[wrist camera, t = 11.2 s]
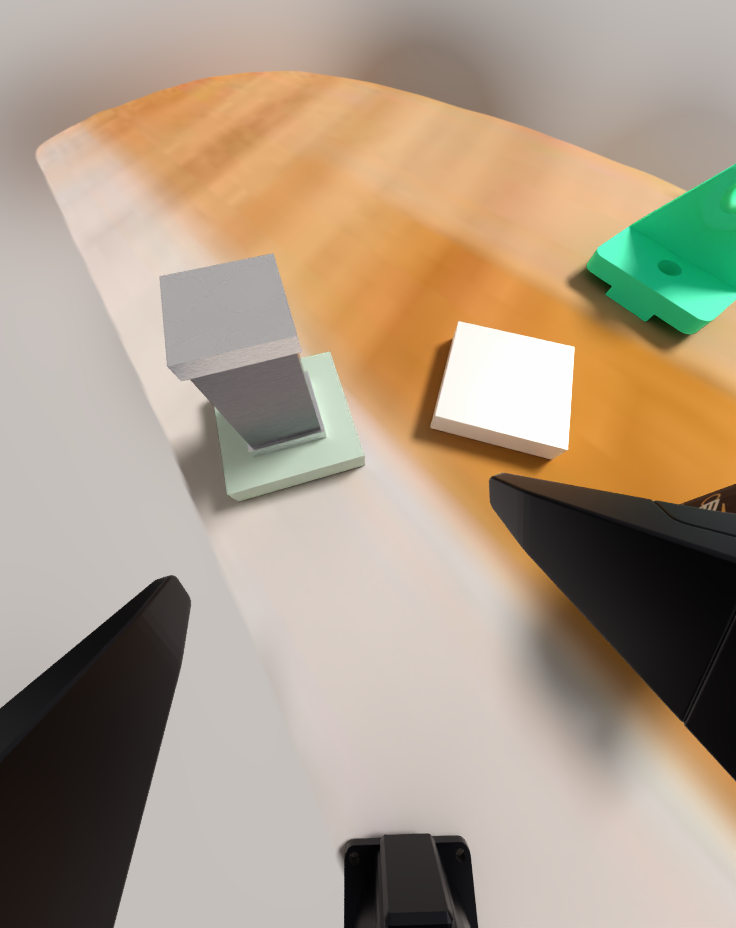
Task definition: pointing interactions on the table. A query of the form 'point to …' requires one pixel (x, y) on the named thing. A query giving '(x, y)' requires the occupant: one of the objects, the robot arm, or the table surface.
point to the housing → (242, 351)
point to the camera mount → (677, 258)
